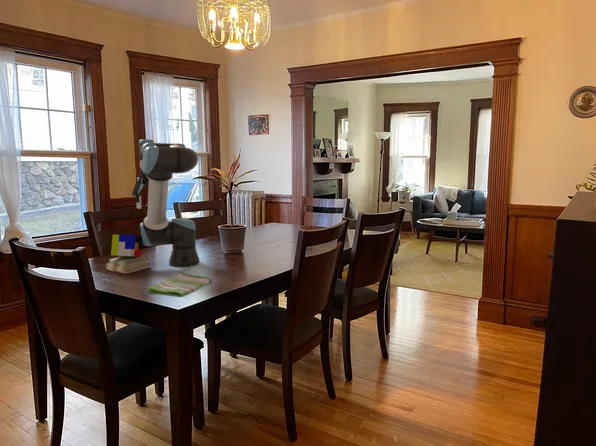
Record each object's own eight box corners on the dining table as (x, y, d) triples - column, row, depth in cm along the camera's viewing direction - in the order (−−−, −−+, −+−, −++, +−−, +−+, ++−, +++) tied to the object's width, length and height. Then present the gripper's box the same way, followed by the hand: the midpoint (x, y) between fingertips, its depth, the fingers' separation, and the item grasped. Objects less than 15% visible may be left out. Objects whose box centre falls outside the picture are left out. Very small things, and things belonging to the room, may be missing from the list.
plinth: (149, 267, 217) (149, 257, 217) (126, 273, 205) (126, 263, 204) (129, 264, 224) (129, 254, 223) (106, 269, 212) (105, 259, 211)
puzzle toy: (130, 256, 209) (132, 235, 210) (110, 255, 210) (112, 234, 211) (140, 256, 218) (142, 236, 219) (121, 255, 220) (123, 236, 221)
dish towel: (213, 283, 193) (212, 275, 192) (182, 298, 171) (182, 289, 171) (179, 279, 199) (179, 271, 198) (146, 293, 177) (146, 284, 177)
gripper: (159, 167, 251) (160, 204, 254) (123, 168, 229) (125, 209, 232) (169, 168, 247) (170, 205, 250) (134, 168, 225) (135, 210, 228)
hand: (148, 207), depth 241 cm, fingers open, 13 cm apart
